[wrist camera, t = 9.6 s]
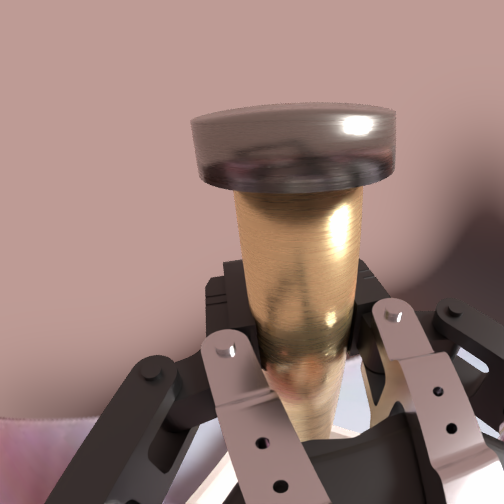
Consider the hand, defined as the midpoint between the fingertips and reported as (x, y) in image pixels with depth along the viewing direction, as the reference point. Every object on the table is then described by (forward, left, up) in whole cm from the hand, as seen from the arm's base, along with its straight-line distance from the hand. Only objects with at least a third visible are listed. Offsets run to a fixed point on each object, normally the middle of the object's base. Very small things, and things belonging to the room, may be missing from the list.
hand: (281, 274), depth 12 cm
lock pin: (+2, -2, -8) cm, 8 cm away
